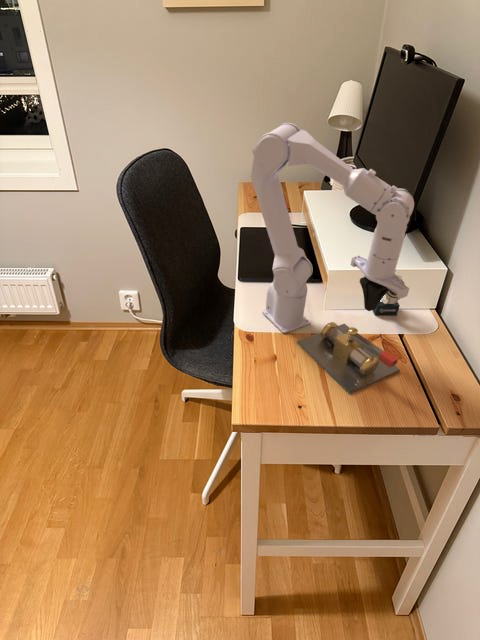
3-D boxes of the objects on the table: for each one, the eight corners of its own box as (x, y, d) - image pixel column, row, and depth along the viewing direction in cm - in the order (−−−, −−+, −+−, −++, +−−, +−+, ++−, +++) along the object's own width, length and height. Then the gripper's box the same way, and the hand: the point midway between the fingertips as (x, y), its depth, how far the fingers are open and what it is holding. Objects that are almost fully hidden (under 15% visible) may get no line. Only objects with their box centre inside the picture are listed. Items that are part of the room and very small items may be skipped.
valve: (296, 342, 103) (299, 326, 100) (344, 325, 109) (347, 309, 106) (349, 394, 91) (354, 377, 88) (399, 371, 97) (405, 354, 94)
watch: (377, 320, 111) (387, 282, 104) (368, 301, 118) (377, 264, 111) (399, 320, 112) (411, 282, 105) (389, 301, 118) (400, 265, 111)
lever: (344, 338, 97) (346, 329, 96) (350, 335, 98) (352, 326, 97) (389, 370, 90) (392, 361, 88) (395, 366, 91) (398, 357, 89)
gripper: (427, 265, 86) (408, 321, 95) (373, 233, 96) (360, 287, 104) (400, 273, 83) (383, 331, 92) (348, 240, 93) (337, 295, 102)
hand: (369, 308), depth 98 cm, fingers closed
